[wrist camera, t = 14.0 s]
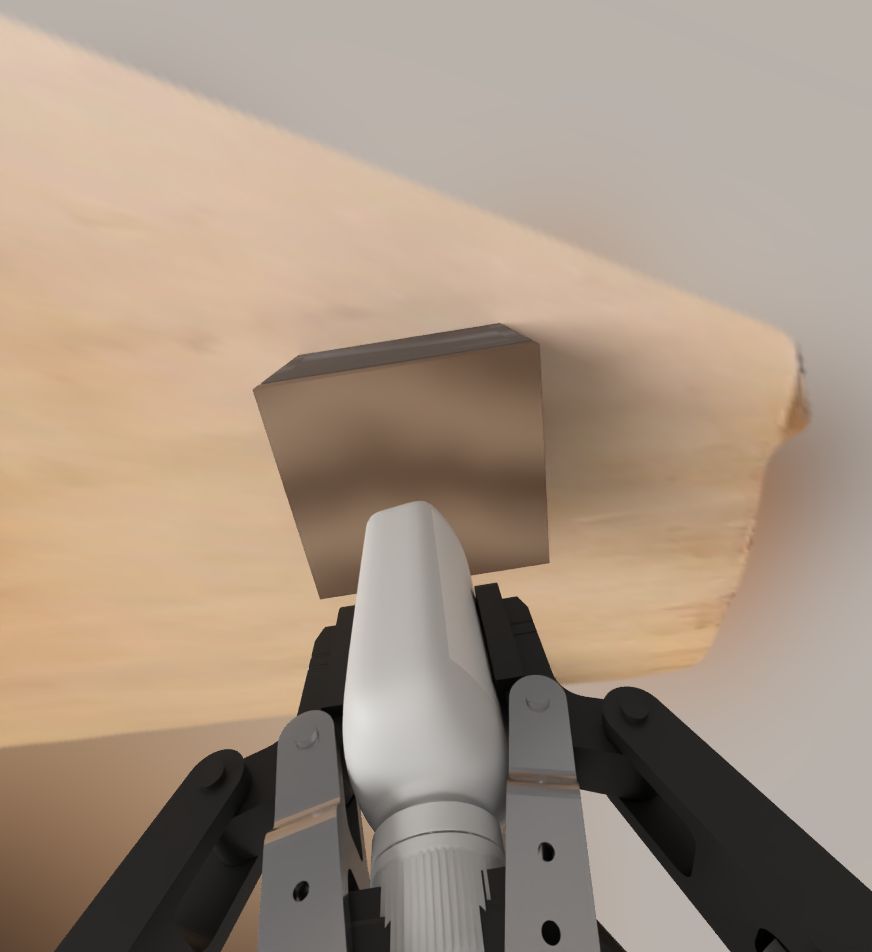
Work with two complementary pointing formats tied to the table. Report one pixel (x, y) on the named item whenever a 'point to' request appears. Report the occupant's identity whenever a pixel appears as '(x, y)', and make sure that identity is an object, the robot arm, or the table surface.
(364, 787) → the eye dropper bottle
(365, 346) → the box
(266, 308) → the table surface
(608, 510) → the table surface
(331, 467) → the lid
